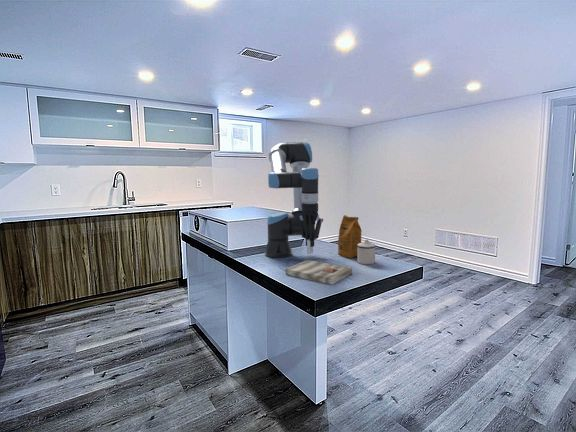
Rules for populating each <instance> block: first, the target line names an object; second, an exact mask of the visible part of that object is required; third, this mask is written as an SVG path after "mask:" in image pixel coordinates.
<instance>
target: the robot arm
mask: <svg viewBox="0 0 576 432" xmlns="http://www.w3.org/2000/svg"><path fill="white" fill-rule="evenodd" d="M268 161H269V162H270V167H271V172H268V177H267V179H268V181H267V182H268V188H270V189H276V190H277V189H291V188H292V189H293V210H292V211H291V214H289V213H288V212H277V213H272V214H269V215H268V217H267V223H266V224H267V244H266V247H265V249H264V255H265V256H266V255H267V256H266V257H268V256H269V258H287V257H289V256H292V255H293V249H292V248H291V245H290V241H289V237H290V236H291V237H292V236H294V237H295V236H298V237H299V236H301V237H302V238H303V239H305V247H306V253H307V255H311V254H313V252H314V247H315V240H317V239H319V235H320V231H321V227H322V224H323V222H324V218H321V217H320V215H319V203H318V202H319V176H320V175H319V169H318V168H317V167H309V166H310V165H311V163H313V152H312V147H311V144H310V143H309V142H305V141H299V142H298V141H297V142H296V141H295V142H286V141H285V142H278V143H277V144H276V145H273V147H271V149H270V150H269V153H268ZM286 164H289V168H290V167H291V168H292V171H287V166H286ZM291 254H292V255H291Z"/></svg>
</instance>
